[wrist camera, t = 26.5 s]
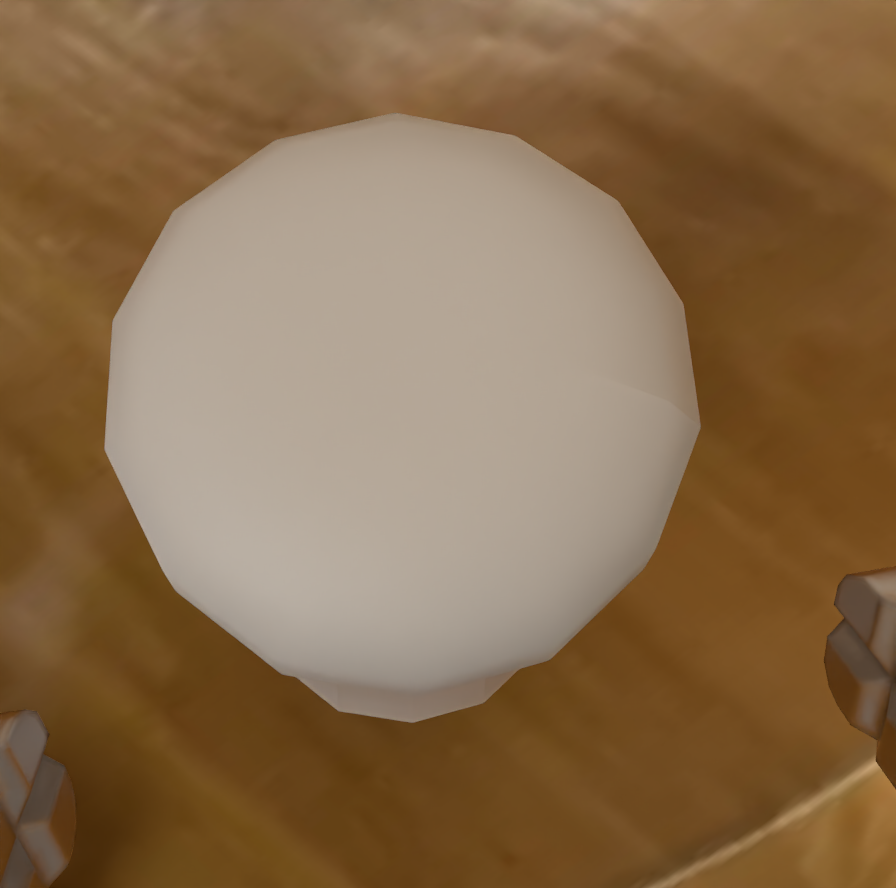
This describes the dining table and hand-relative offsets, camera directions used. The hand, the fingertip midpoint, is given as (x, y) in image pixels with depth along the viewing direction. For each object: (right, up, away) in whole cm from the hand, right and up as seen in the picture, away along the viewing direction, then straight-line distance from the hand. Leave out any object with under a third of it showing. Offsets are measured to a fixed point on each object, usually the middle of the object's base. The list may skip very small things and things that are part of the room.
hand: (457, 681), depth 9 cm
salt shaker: (-1, 0, +9) cm, 9 cm away
